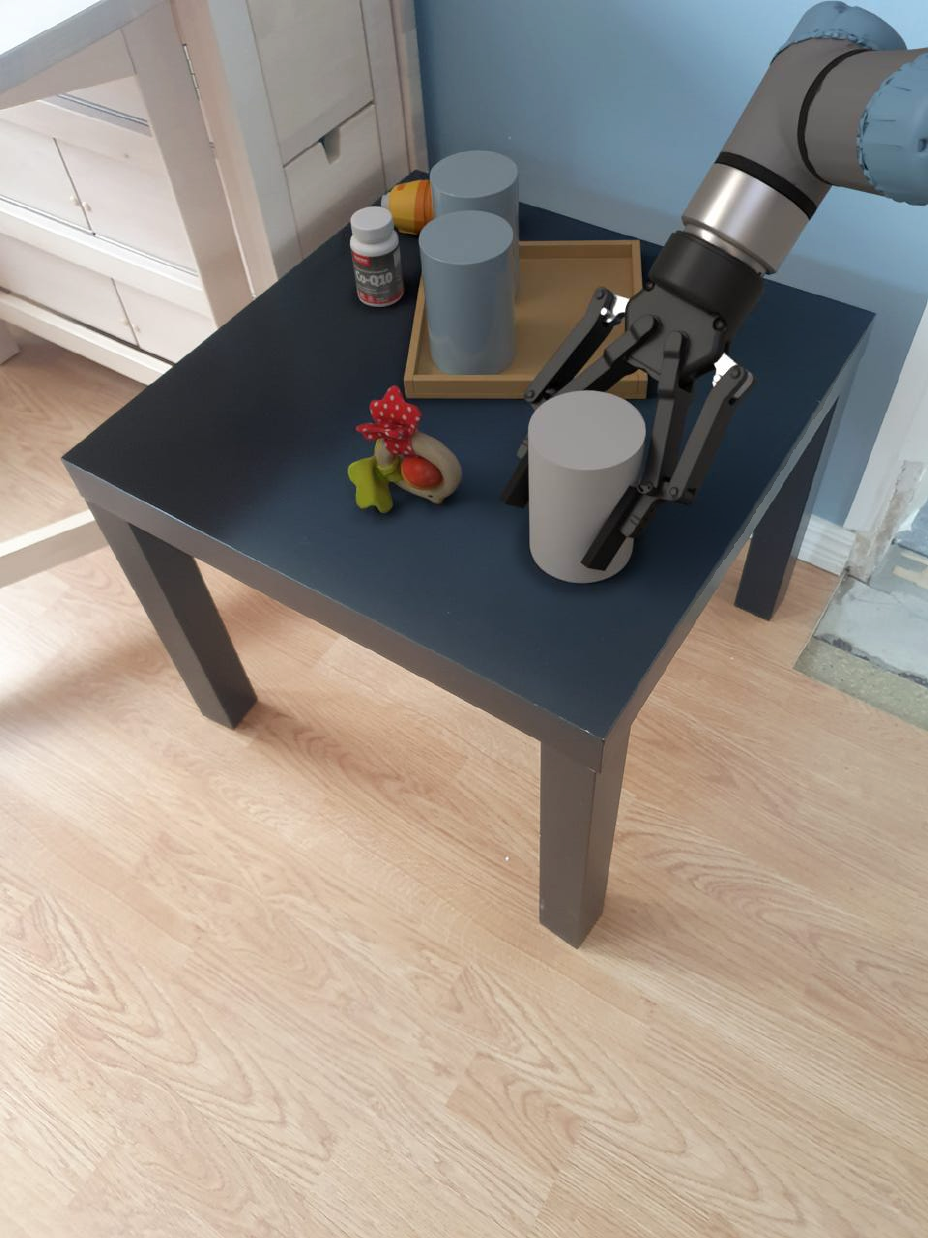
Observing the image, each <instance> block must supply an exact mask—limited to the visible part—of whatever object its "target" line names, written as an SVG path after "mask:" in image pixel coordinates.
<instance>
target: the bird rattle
mask: <svg viewBox="0 0 928 1238" xmlns="http://www.w3.org/2000/svg"><path fill="white" fill-rule="evenodd" d="M369 410H370V414H371V416H372V417H371V418H373V420H374V422H375V423H373V422H365V423H362V424H359V425H357V426H356V428H355V430H356V431H357V432H358V433H360V434H361V433H362V434H363V435H362V436H363V437H364V439H365V440H367V441H369V442H374V441H376V443H375V445H374V453H373V455H372V456H371V457H365V458H362V459H359V460H356V461H353V462H351V464H349V466H348V468H347V475H348V478H349V480H350V482H351V483H352V484H354V485H355V487H356V488H355V502H356V505H357V506H358V507H359V508H360V509H362V510H363V509H364V510H365V509H367V508H369V507H371V506H375V507H376V508H377V510H378V511H379V512H380V513H381V514H387V513H388V512H389V511H390V510H391V509H392V508H393V506H394V503H393V499H392V495H391V491H390V485H389V484H390V483H394V484H395V485H397V486H398V487H400V488H401V489H403V490H405V491H407V492H408V493H410V494H412V495H415V496H418V497H420V498H423V499H427V500H429V501H431V502H432V503H434V504H436V505H440V504H442V503H443V502H444V500H445V499H446V498H448V497H450V496H452V494H453V493H454V492H455V491H456V490H457V489H458V487H459V485H460V483H461V482H462V481H461V480H462V478H463V469H462V466H461V464H460V461H459V460H458V458H457V456H456V455H455V453H454V452H452V451H451V449H449V448H448V447H447V446H446V445H445V444H443V442H441V441H439V440H437V439H436V438H434V437H433V436H430V435H428V434H426V433H424V432H422V431H421V430H420V429H418V426H419V424H420V422H421V420H422V418H423V413H422V412H421V410H420V409H419V408H418V407H417V406H416V405H414V404H412V403H409V402H406V401H405V399H404V396H403V393H402V390H401V389H400V387H399V386H398V385H395V384H394V385H392V386H390V387H389V388H388V389H387V391H386V392H385V394H384V395H383V397H382V399H373V400H372V401H371V402H370V404H369Z"/></svg>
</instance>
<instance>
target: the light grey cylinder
mask: <svg viewBox="0 0 928 1238" xmlns="http://www.w3.org/2000/svg"><path fill="white" fill-rule="evenodd" d="M527 433H528V456H529V501H528V513H529V514H528V519H529V520H528V523H529V524H528V525H529V526H528V527H529V529H528V530H529V550H530V554H531V556H532V559H533V560H534V562H535V564H537V566H538V567H539V568H540V569H541V570H542V571H544V572H545V573H546V574H548V575H549V576H551V577H552V578H553V577H554V578H555V579H557V580H561V581H563V582H567V583H573V584H574V583H575V584H590V583H596V582H601V581H604V580H606V579H609V578H611V577H613V576H614V575H617V574H618V573H619V572H620V571H621V570H622V569H623V568H624V567H625V566H626V565H627V563H628V562H629V560H630V558H631V556H632V554H633V549H634V541H635V540H634V538H630V537H627V538H626V539H625V541H624V542H623V544H622V546H621V547H620V549H619V550H618V552H617V553H616V555H615V556H614V558H613V560H612V561H611V563H610V564H609V566H608V567H607V569H606V570H605V571H601V570H595V569H589V568H587V567H585V566H584V565H583V564H582V563H580V562H581V560H582V559H583V557H584V556H585V554H586V553H587V551H588V549H589V548H590V546H591V545H592V543H593V541H594V540H595V538H596V537H597V535H598V534H599V532H600V530H601V529H602V527H603V526H604V524H605V522H606V521H607V519H608V518H609V516H610V515H611V513H612V511H613V510H614V508H615V507H616V505H617V503H618V502H619V500H620V499H621V498H622V496H623V495H624V493H625V492H626V490H627V488H628V487H629V485H630V486H633V487H636V488H637V484H639V485H641V480H642V479H641V477H642V469H643V462H644V461H643V459H644V451H645V443H646V434H647V431H646V423H645V419H644V418H643V416H642V414H641V412H640V411H639V410H638V409H637V408H636V407H635V406H634V405H633V404H632V403H630V402H629V401H627V399H622V398H620V397H618V396H615V395H612V394H609V393H605V392H600V391H588V390H586V391H573V392H568V393H564V394H561V395H558V396H556V397H553V398H551V399H549V400H548V401H546V402H545V403H543V404H542V405H541V406H540V407H539V408H538V409H537V410H536V411H533V413H532V415H531V417H530V419H529V422H528V426H527Z"/></svg>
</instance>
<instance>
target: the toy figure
mask: <svg viewBox="0 0 928 1238" xmlns="http://www.w3.org/2000/svg"><path fill="white" fill-rule="evenodd" d="M380 207H383V208H385V209H387V210H389V211H390V212H391V214H392V218H393V224H394V227H395V228H397V229H398V232H399V233H401V234H402V233H403V234H408V235H412V236H413V235H414V236H418V235H420V233H421V231H422V229H423V228H424V227H425V226H426V225H427V224H428V223H429V222H431V221H432V220H434V219H433V208H432V197H431V186H430V179H417V180H413V181H408V182H404V183H398V184H396V185H395V186H393V188H392V189H391V190H390V191H388V192H387V193H386V194H383V195H382V197H381V200H380Z"/></svg>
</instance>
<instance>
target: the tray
mask: <svg viewBox="0 0 928 1238" xmlns="http://www.w3.org/2000/svg"><path fill="white" fill-rule="evenodd" d="M519 243H520V291H519V293H518V295H517V297H516V298H515V323H516V355H515V358H514V360H513V362H512V363H511V364H510V366H509V367H507V368H506V369H505V370H504V371H502V372H501V373H499V374H497V375H446V374H444V373H442V372H441V371H439V370H438V369H437V368H436V367H435V365H434V364H433V362H432V359H431V353H430V343H429V334H428V324H427V315H426V305H425V296H424V286H423V277H422V272H421V274H420V280H419V284H418V285H419V286H418V291H417V299H416V304H415V310H414V315H413V322H412V328H411V335H410V341H409V347H408V352H407V357H406V358H407V359H406V364H405V371H404V376H403V386H404V393H405V398H406V399H484V400H485V399H488V400H489V399H491V400H493V399H495V400H497V399H499V400H503V399H506V400H507V399H509V400H511V399H512V400H514V399H521V400H522V399H524V392H525V390H526V389H527V387H528V386H529V385H530V384H531V382H532V381H533V380H534V379H535V377H536V376H537V375H538V373H539V372H540V371H541V370H542V368H543V367H544V366H545V365H546V363H547V362H548V361H549V360H550V358H551V357H552V356H553V354H554V353H555V352H556V351H557V349H558V348H559V347H560V346H561V344H562V343H563V342H564V341H565V339H566V338H567V337H568V335H569V334H570V333H571V332H572V330H573V329H574V328H575V327H576V325H577V324H578V323H579V322H580V320H581V319H582V318H583V316H584V315H585V313H586V310H587V308H588V306H589V303H590V301H591V298H592V296H593V293H594V292H595V290H596V289H597V288H599V287H605V288H606V289H608V290H609V291H611V292H613V293H614V294H616V295H619V296H622V297H625V298H628V299H630V298H631V297H632V296H634V295H635V294H637V293H638V292H639V291H640V290H641V289H642V288H643V275H642V256H641V255H642V254H641V240H640V239H601V240H600V239H599V240H598V239H594V240H591V239H589V240H587V239H586V240H526V241H525V240H519ZM624 333H625V317H623V318H622V322H621V323H620V324H619V325H615V326H614V327H613V329H612V330H611V332H610V334H609V335H608V336H607V338H606V339H605V340H604V342H603V343H602V344H601V345H600V347H599V348H598V349H597V350H596V352H595V353H594V354H593V355H592V357H591V358H590V359H589V360H588V361H587V363H586V364H585V365H584V366H583V368H582V369H581V370H580V371H579V373H578V374H577V375H576V376H575V377H577V376H578V375H579V374H580V373H582V372H583V371H584V370H585V369H586V368H588V367H589V366H590V365H591V364H593V363H594V362H595V361H596V360H597V359H599V358H600V357H601V356H602V355H603V354H604V350H605V349H606V348H607V347H608V346H609V345H610V344H612V343H613V342H614V341H615V340H616V339H618V338H619V337H620V336H621V335H623V334H624ZM648 375H649V374H647V373H645V372H643V371H642V370H640V369H639V370H637V371H636V372H635V373H633V374H631V375H627V376H625V377H623V378H622V379H621V380H620V381H618V382H617V383H616V384H615V385H613V386H612V387H611V388H610V389H608V390H607V391H606V392H605V393H609V394H612V395H615V396H618V397H620V398H622V399H624V400H646V399H647V392H648V385H649V384H648V383H649V377H648ZM524 400H525V399H524Z"/></svg>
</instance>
